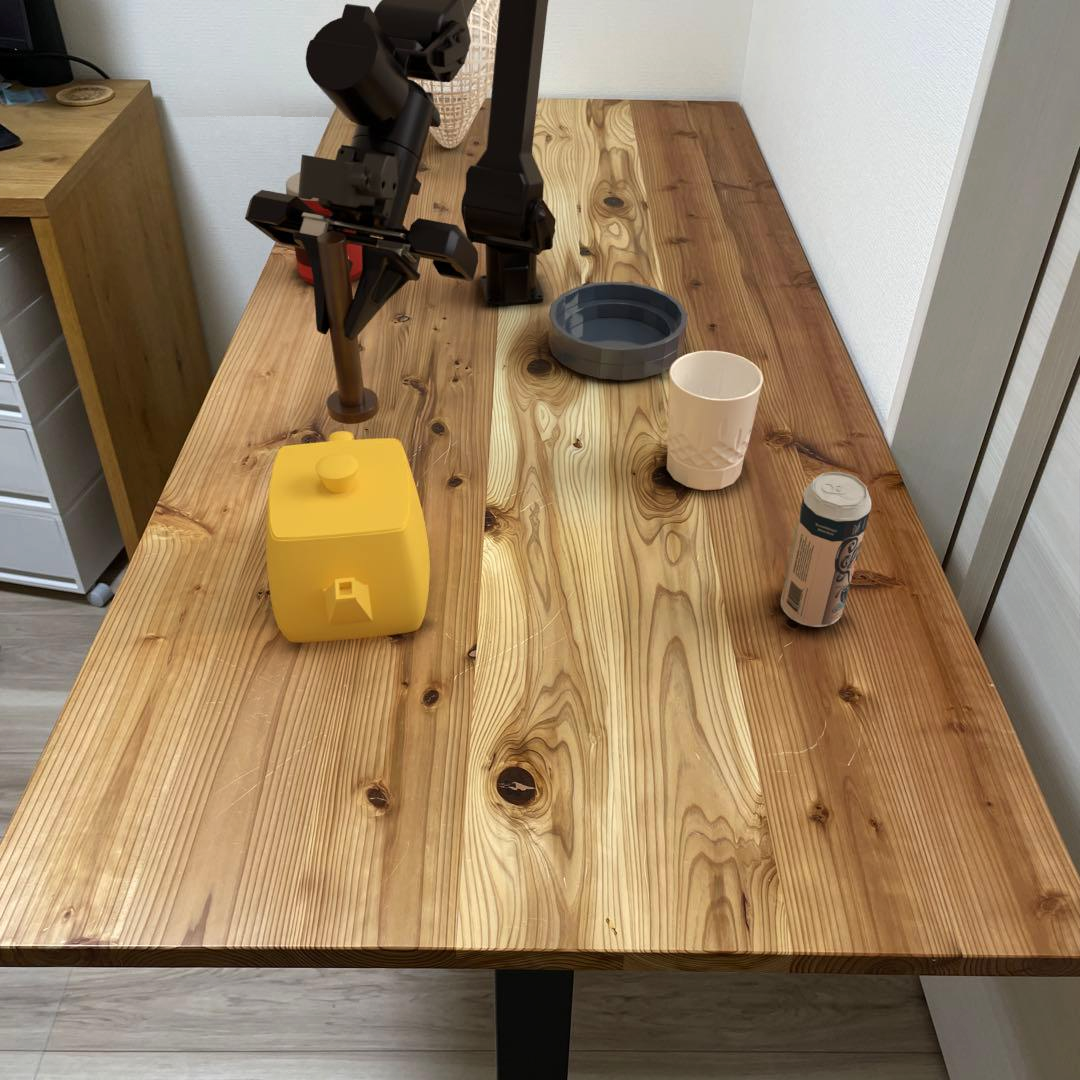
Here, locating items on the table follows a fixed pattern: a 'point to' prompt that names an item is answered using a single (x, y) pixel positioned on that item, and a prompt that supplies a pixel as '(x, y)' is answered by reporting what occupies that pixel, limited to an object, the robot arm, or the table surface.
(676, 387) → the white cup
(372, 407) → the stirring stick
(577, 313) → the bowl
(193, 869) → the table surface
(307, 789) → the table surface
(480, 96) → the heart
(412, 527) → the teapot
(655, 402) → the table surface
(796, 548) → the beer can
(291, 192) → the canned food
